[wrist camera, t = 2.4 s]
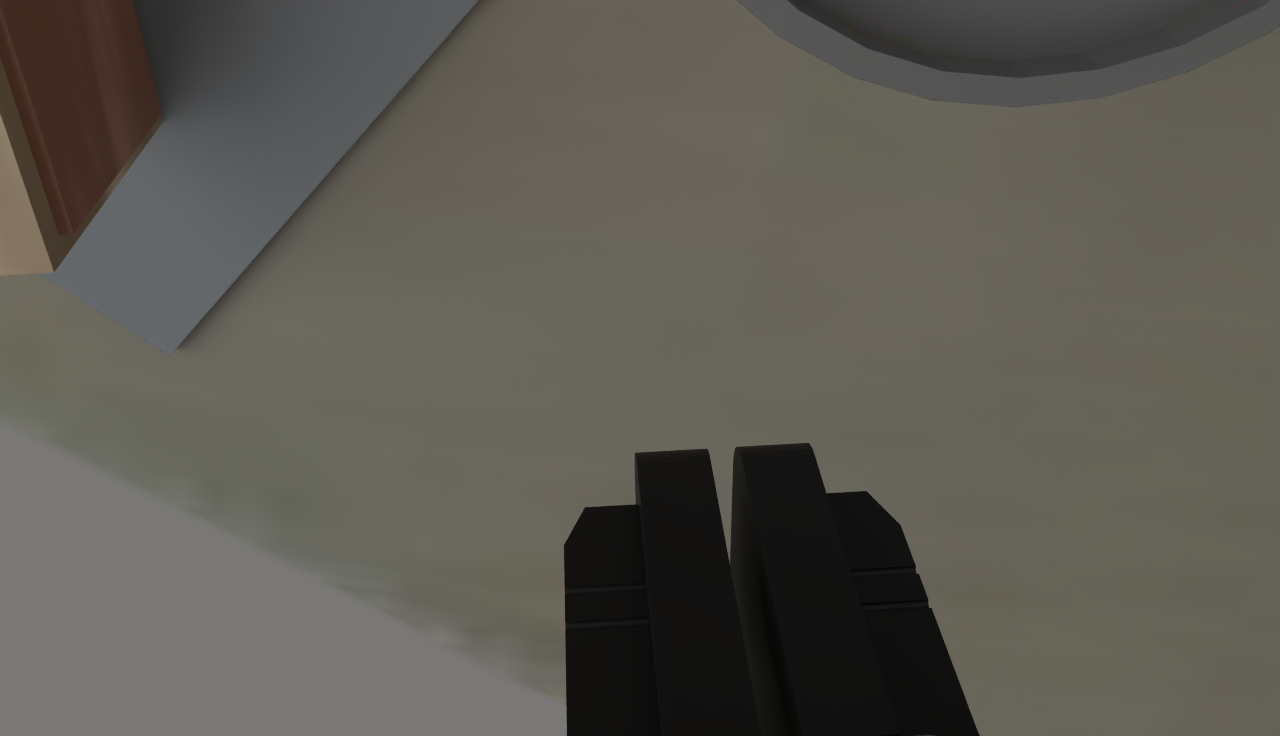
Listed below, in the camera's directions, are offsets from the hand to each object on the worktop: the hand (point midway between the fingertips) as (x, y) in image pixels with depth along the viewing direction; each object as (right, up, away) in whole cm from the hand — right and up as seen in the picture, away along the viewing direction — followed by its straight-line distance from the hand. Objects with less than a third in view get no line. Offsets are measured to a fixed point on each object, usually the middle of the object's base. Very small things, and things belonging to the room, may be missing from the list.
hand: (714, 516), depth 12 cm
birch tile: (-14, +11, +17) cm, 24 cm away
